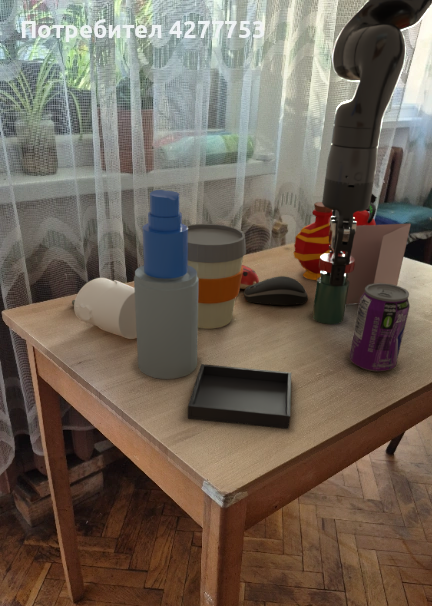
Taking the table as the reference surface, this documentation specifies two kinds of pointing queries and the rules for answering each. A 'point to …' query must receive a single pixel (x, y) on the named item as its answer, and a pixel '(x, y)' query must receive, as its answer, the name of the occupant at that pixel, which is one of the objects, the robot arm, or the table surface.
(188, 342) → the spray bottle
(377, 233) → the greeting card
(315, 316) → the jar
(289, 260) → the table surface
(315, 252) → the potion bottle
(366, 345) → the beverage can
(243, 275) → the ladybug figurine
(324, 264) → the lid
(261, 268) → the table surface
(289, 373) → the tray
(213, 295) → the reusable coffee cup
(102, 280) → the mug
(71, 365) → the table surface
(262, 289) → the computer mouse
